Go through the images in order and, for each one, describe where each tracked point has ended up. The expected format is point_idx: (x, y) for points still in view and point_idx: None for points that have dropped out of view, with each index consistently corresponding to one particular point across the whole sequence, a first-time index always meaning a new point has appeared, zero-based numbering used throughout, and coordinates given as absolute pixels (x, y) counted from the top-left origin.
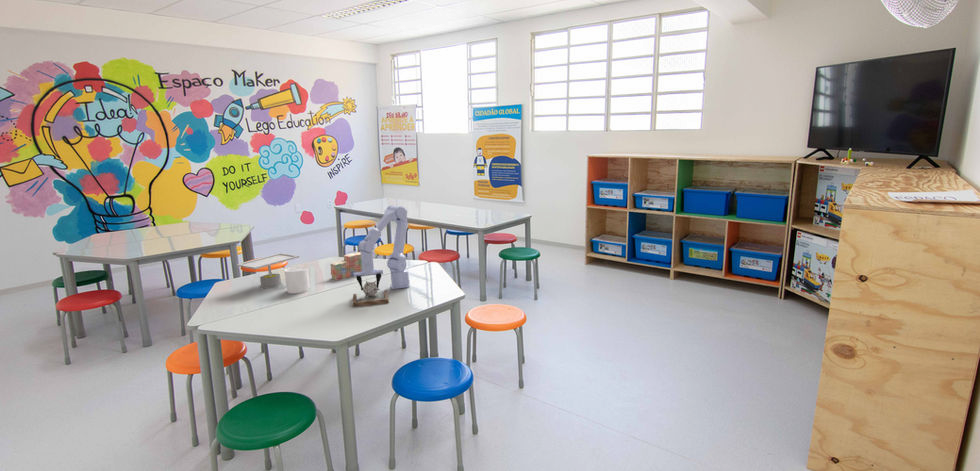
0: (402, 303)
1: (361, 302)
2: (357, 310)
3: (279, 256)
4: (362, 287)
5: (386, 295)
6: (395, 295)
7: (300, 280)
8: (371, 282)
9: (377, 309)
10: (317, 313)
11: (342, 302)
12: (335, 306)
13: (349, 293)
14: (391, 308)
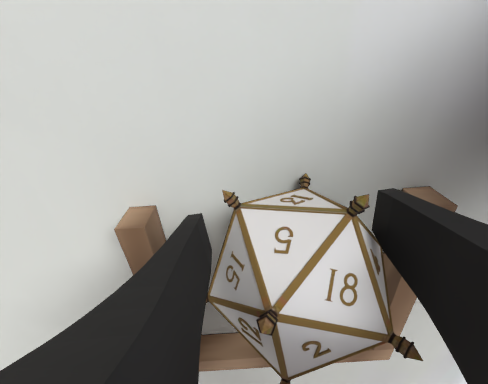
0: (439, 348)
1: (226, 366)
2: (212, 376)
3: None
4: (207, 286)
5: (400, 313)
6: None
7: None
8: (345, 338)
9: (305, 379)
10: None
11: (78, 280)
12: (64, 326)
13: (15, 45)
14: (368, 380)
